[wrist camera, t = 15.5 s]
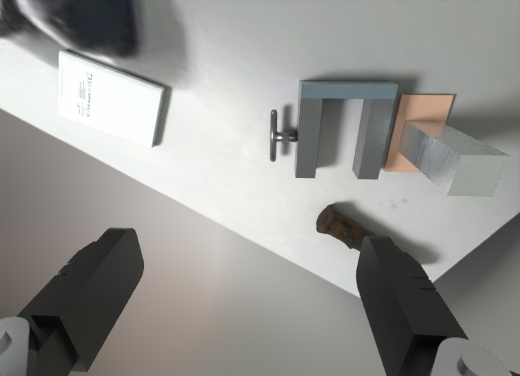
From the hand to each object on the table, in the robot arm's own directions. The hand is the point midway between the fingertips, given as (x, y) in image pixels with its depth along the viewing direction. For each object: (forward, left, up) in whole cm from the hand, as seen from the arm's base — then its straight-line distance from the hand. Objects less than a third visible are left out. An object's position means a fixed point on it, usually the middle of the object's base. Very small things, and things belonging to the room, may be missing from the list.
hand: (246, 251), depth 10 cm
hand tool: (+20, +16, -29) cm, 39 cm away
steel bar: (+4, +19, -28) cm, 34 cm away
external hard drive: (0, -20, -29) cm, 35 cm away
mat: (+4, +19, -28) cm, 34 cm away
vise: (+3, +7, -28) cm, 29 cm away
